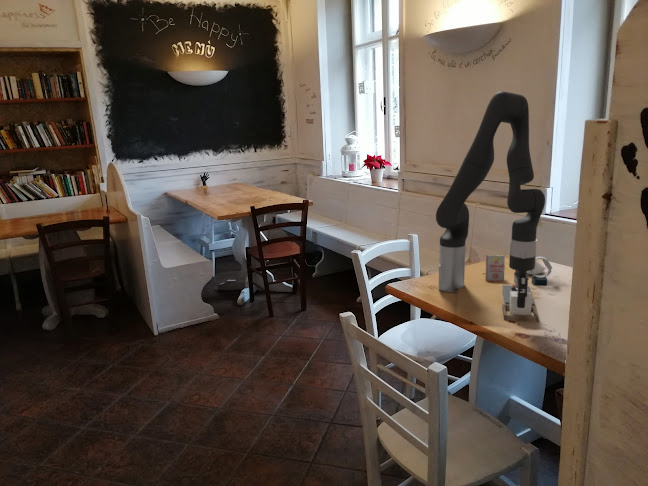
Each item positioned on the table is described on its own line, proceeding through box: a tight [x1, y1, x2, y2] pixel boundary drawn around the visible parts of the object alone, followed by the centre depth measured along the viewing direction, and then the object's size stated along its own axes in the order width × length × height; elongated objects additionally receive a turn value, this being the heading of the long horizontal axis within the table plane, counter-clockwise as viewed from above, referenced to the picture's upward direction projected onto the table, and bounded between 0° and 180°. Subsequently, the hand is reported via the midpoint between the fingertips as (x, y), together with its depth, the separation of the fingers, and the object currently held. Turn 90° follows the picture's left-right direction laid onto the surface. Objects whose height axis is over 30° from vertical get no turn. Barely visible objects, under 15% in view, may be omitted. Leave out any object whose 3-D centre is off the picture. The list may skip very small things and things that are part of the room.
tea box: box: [484, 254, 506, 282], centre depth 199 cm, size 4×7×10 cm, turn 76°
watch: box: [531, 255, 553, 287], centre depth 191 cm, size 6×8×11 cm
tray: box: [501, 303, 540, 323], centre depth 162 cm, size 10×9×3 cm
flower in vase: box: [526, 219, 546, 275], centre depth 205 cm, size 13×11×25 cm
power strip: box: [501, 283, 536, 307], centre depth 175 cm, size 9×17×4 cm, turn 164°
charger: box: [509, 291, 533, 316], centre depth 162 cm, size 6×5×8 cm
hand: (519, 302), depth 161 cm, fingers open, 8 cm apart
